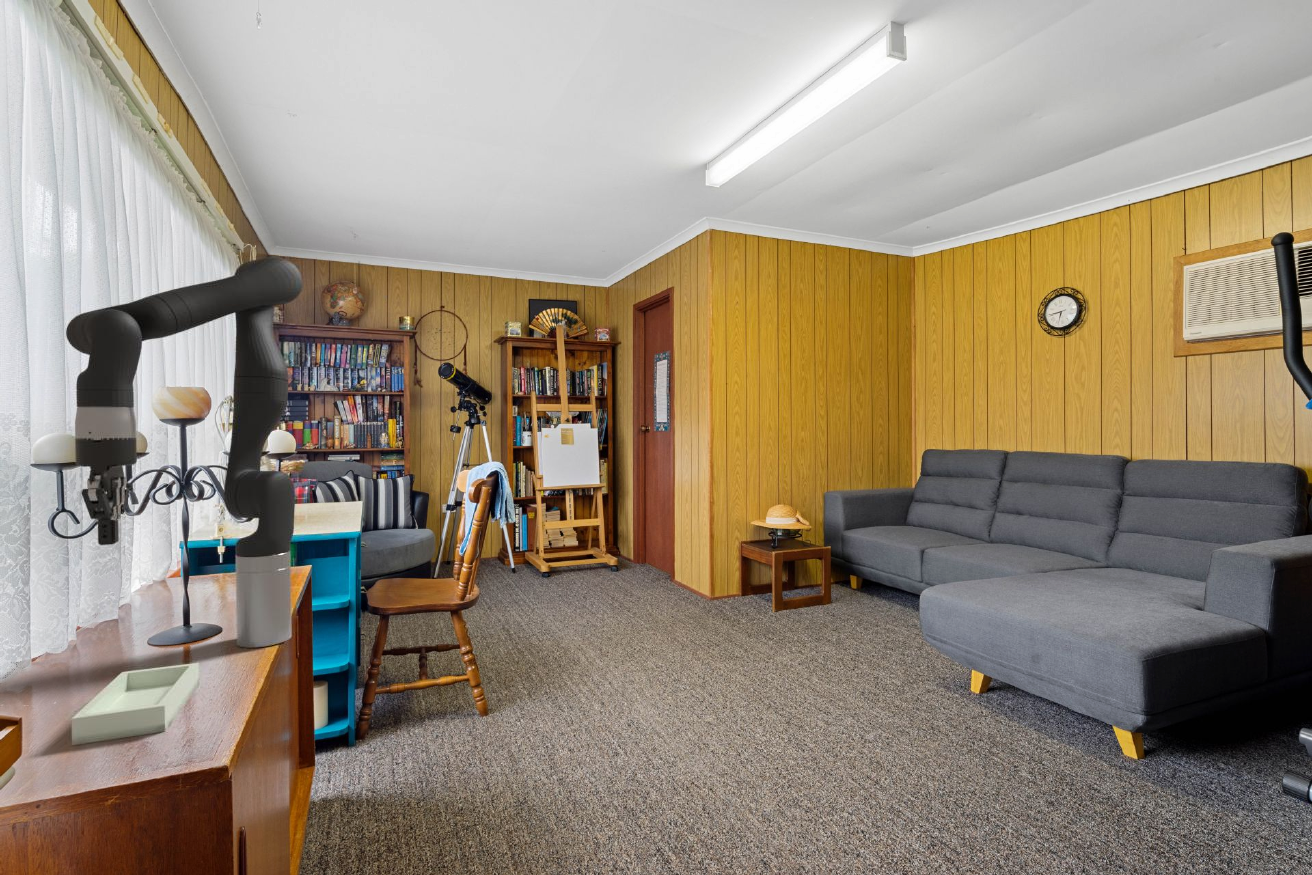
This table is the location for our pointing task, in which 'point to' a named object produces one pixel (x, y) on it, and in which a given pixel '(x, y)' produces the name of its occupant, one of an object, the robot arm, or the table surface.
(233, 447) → the robot arm
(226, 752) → the table surface
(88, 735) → the tray
